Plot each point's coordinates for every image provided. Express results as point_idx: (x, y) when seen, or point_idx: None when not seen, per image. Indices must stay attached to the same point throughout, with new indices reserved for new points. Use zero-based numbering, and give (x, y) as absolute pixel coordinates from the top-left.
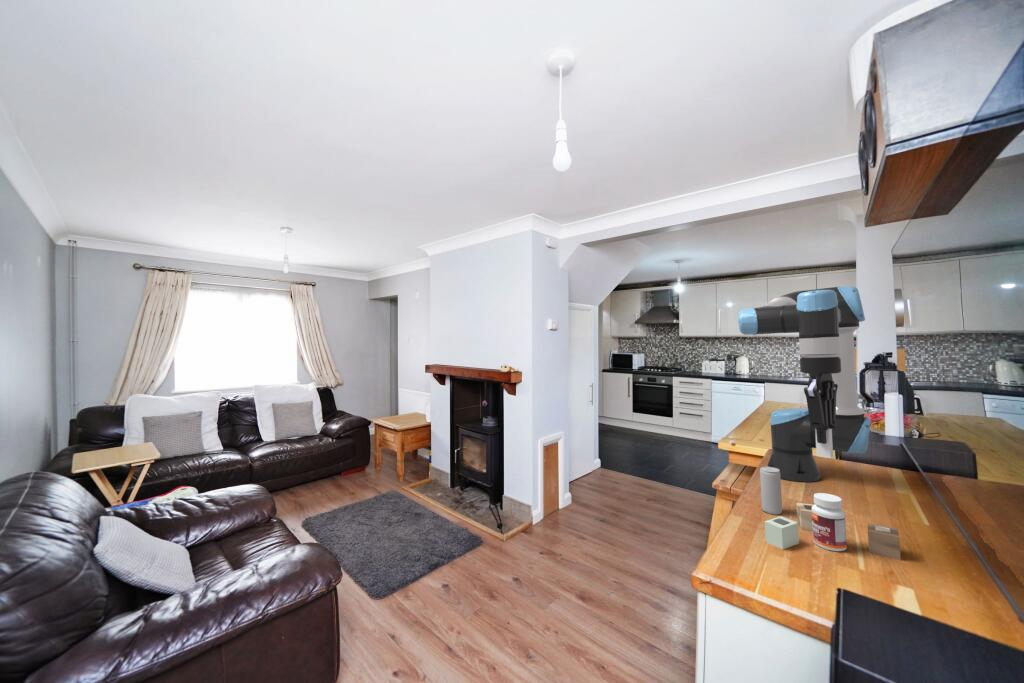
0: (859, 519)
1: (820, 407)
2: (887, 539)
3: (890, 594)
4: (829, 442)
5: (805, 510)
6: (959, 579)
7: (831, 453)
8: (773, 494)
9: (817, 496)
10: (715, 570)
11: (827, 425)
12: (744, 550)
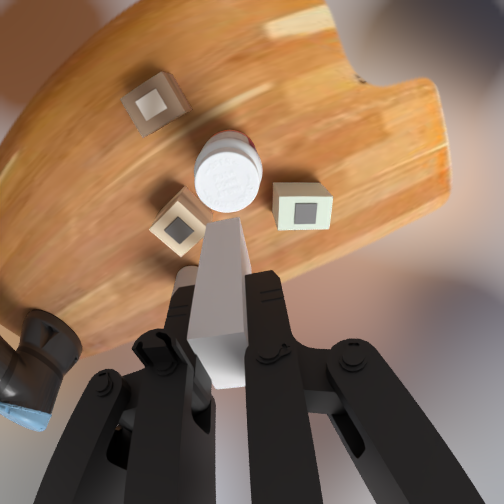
0: (80, 200)
1: (475, 502)
2: (172, 86)
3: (313, 35)
4: (240, 267)
5: (202, 226)
6: (160, 14)
7: (224, 230)
8: None
9: (246, 197)
10: (439, 196)
11: (264, 369)
12: (371, 209)
